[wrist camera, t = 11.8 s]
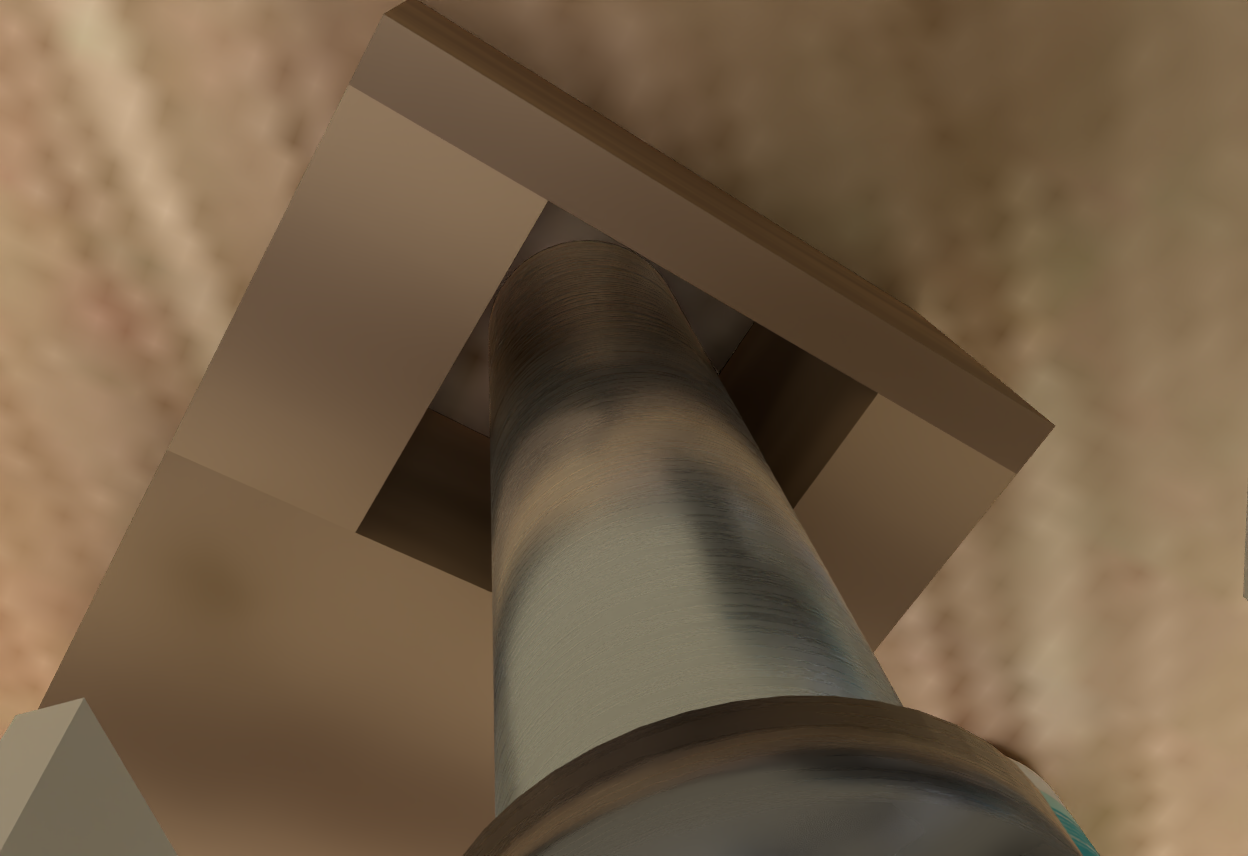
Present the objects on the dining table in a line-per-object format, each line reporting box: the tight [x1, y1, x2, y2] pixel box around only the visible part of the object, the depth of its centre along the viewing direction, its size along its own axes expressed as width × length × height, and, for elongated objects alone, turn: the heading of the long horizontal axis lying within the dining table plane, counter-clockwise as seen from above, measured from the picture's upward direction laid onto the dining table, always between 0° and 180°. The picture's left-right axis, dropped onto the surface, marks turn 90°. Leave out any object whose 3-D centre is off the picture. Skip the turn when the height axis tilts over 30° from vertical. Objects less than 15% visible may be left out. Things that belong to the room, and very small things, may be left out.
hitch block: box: [38, 0, 1055, 856], centre depth 20 cm, size 17×12×8 cm
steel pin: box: [463, 241, 1083, 856], centre depth 15 cm, size 5×5×16 cm
